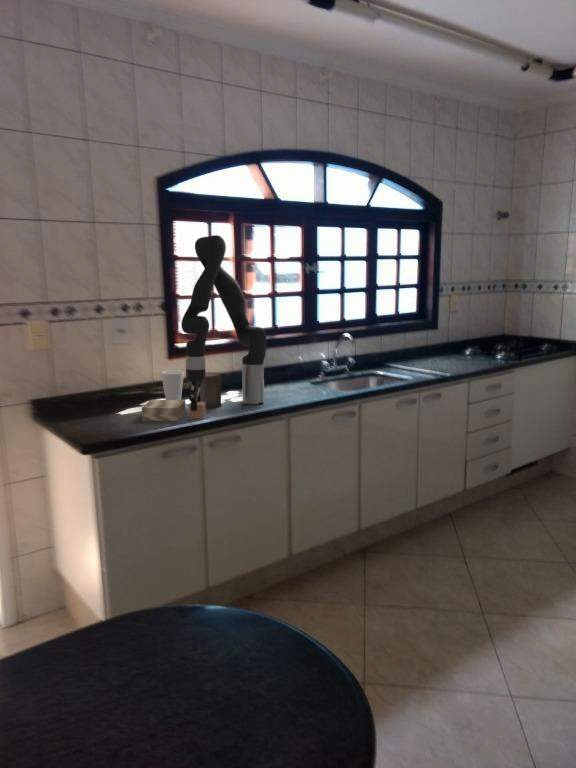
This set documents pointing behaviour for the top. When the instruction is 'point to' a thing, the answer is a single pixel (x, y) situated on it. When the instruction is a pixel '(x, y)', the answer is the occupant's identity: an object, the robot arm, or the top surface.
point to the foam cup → (172, 384)
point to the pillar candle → (211, 390)
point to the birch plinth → (163, 410)
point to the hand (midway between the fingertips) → (196, 408)
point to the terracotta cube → (198, 411)
